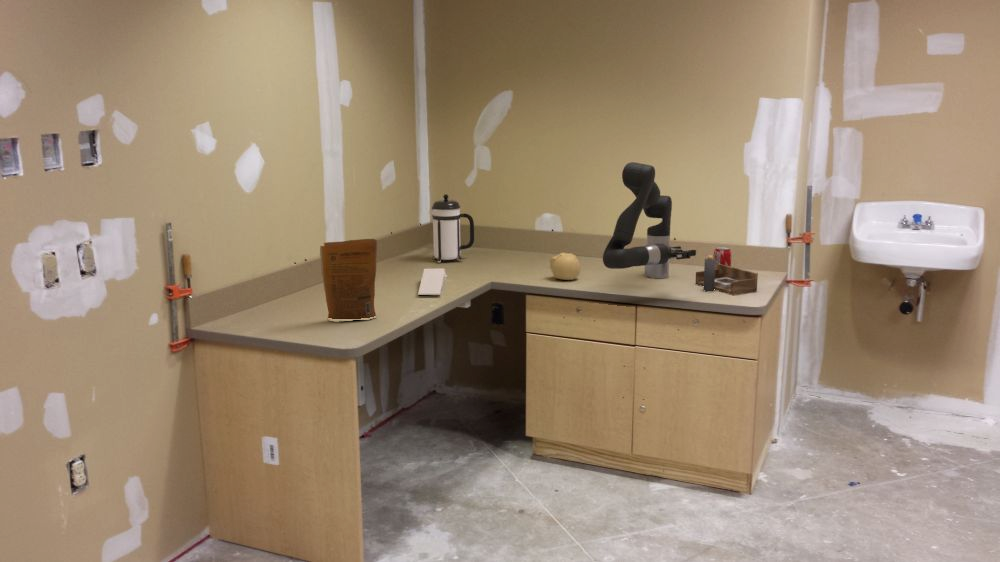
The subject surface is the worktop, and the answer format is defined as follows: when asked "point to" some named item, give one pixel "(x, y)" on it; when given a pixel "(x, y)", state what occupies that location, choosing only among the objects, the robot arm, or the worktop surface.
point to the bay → (735, 274)
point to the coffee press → (448, 229)
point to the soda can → (722, 256)
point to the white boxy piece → (432, 282)
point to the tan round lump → (565, 266)
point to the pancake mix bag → (349, 278)
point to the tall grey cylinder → (709, 274)
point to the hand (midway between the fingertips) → (687, 250)
